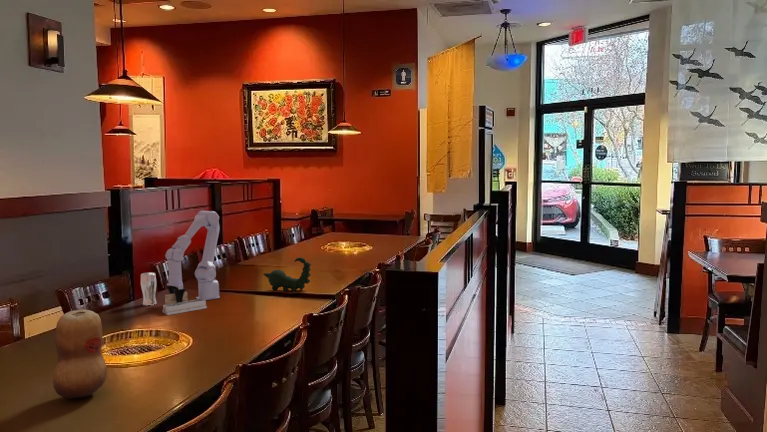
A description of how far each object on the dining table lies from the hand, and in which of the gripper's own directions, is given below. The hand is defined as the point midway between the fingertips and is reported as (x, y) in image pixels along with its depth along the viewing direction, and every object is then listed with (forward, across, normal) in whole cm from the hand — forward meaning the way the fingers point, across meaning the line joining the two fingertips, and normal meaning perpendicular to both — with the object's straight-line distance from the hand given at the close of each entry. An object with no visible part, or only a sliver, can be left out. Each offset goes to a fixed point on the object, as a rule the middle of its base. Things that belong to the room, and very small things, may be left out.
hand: (176, 301), depth 260 cm
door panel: (+2, 0, 0) cm, 2 cm away
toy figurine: (+2, +8, +55) cm, 56 cm away
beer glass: (+2, -12, -9) cm, 15 cm away
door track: (+2, +11, 0) cm, 11 cm away
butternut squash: (+2, +87, -56) cm, 103 cm away
